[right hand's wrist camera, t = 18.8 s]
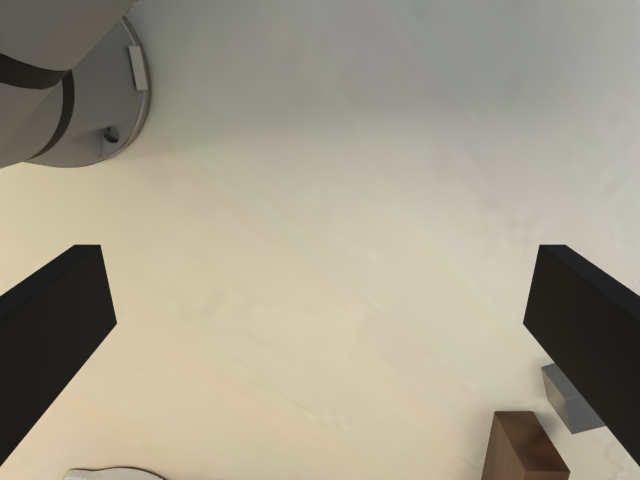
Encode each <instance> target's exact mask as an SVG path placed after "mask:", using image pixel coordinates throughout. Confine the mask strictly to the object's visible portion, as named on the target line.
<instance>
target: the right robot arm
mask: <svg viewBox="0 0 640 480" xmlns="http://www.w3.org/2000/svg"><path fill="white" fill-rule="evenodd" d="M137 1H138V0H0V168H3V167H7V166H10V165H13V164H16V163H20V162H26V163H32V164H38V165H44V166H50V167H59V168H73V167H83V166H88V165H92V164H95V163H98V162H101V161H103V160H106V159H108V158H110V157H112V156H114V155H116V154H118V153H119V152H121V151H122V150H123V149H125V148H126V147H127V146H128V145H129V144H130V143H131V142H132V141H133V140H134V138H135V137H136V136H137V134H138V133H139V131H140V129H141V128H142V126H143V124H144V121H145V119H146V116H147V112H148V108H149V103H150V94H151V83H150V73H149V68H148V63H147V60H146V56H145V53H144V51H143V48H142V45H141V43H140V41H139V39H138V37H137V35H136V33H135V31H134V30H133V28H132V26H131V25H130V23H129V22H128V20H127V19H126V17H125V16H124V15H125V13H126V12H127V11H128V10H129V9H130V8H131V7H132V6H133V5H134V4H135V3H136V2H137ZM116 324H117V321H116V316H115V311H114V307H113V302H112V297H111V293H110V288H109V283H108V278H107V274H106V269H105V264H104V259H103V255H102V250H101V245H74V246H72V247H71V248H69V249H68V250H66V251H65V252H63V253H62V254H61V255H59V256H58V257H56V258H55V259H53V260H52V261H50V262H49V263H48V264H46V265H45V266H43V267H42V268H40V269H39V270H38V271H36V272H35V273H33V274H32V275H30V276H29V277H27V278H26V279H25V280H23V281H22V282H20V283H19V284H17V285H16V286H14V287H13V288H12V289H10V290H9V291H7V292H6V293H4V294H3V295H1V296H0V466H1V465H2V464H3V463H4V462H5V460H6V459H7V458H8V457H9V455H10V454H11V453H12V452H13V451H14V449H15V448H16V447H17V446H18V444H19V443H20V442H21V441H22V439H23V438H24V437H25V436H26V435H27V433H28V432H29V431H30V430H31V428H32V427H33V426H34V425H35V424H36V422H37V421H38V420H39V419H40V417H41V416H42V415H43V414H44V413H45V411H46V410H47V409H48V408H49V406H50V405H51V404H52V403H53V401H54V400H55V399H56V398H57V397H58V395H59V394H60V393H61V392H62V390H63V389H64V388H65V387H66V386H67V384H68V383H69V382H70V381H71V379H72V378H73V377H74V376H75V374H76V373H77V372H78V371H79V370H80V368H81V367H82V366H83V365H84V363H85V362H86V361H87V360H88V359H89V357H90V356H91V355H92V354H93V352H94V351H95V350H96V349H97V348H98V346H99V345H100V344H101V343H102V341H103V340H104V339H105V338H106V336H107V335H108V334H109V333H110V332H111V330H112V329H113V328H114V327H115V325H116ZM523 324H524V325H525V327H526V328H527V329H528V330H529V332H530V333H531V334H532V335H533V336H534V338H535V339H536V340H537V341H538V343H539V344H540V345H541V346H542V348H543V349H544V350H545V351H546V352H547V354H548V355H549V356H550V357H551V359H552V360H553V361H554V362H555V363H556V365H557V366H558V367H559V368H560V370H561V371H562V372H563V373H564V374H565V376H566V377H567V378H568V379H569V381H570V382H571V383H572V384H573V386H574V387H575V388H576V389H577V390H578V392H579V393H580V394H581V395H582V397H583V398H584V399H585V400H586V401H587V403H588V404H589V405H590V406H591V408H592V409H593V410H594V411H595V413H596V414H597V415H598V416H599V417H600V419H601V420H602V421H603V422H604V424H605V425H606V426H607V427H608V428H609V430H610V431H611V432H612V433H613V435H614V436H615V437H616V438H617V439H618V441H619V442H620V443H621V444H622V446H623V447H624V448H625V449H626V451H627V452H628V453H629V454H630V455H631V457H632V458H633V459H634V460H635V462H636V463H637V464H638V465H639V466H640V296H639V295H637V294H636V293H634V292H633V291H631V290H630V289H628V288H627V287H626V286H624V285H623V284H621V283H620V282H618V281H617V280H615V279H614V278H613V277H611V276H610V275H608V274H607V273H605V272H604V271H602V270H601V269H600V268H598V267H597V266H595V265H594V264H592V263H591V262H590V261H588V260H587V259H585V258H584V257H582V256H581V255H579V254H578V253H577V252H575V251H574V250H572V249H571V248H569V247H568V246H566V245H539V250H538V255H537V259H536V264H535V269H534V274H533V278H532V283H531V288H530V293H529V297H528V302H527V307H526V311H525V316H524V321H523Z"/></svg>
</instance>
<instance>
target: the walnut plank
mask: <svg viewBox="0 0 640 480" xmlns="http://www.w3.org/2000/svg"><path fill="white" fill-rule="evenodd" d="M569 475H570V470H569V469H568V467H567V466H566V464H565V462H564V461H563V459H562V458H561V456H560V454H559V453H558V451H557V450H556V448H555V447H554V445H553V443H552V442H551V440H550V439H549V437H548V435H547V434H546V432H545V431H544V429H543V427H542V426H541V424H540V423H539V421H538V420H537V418H536V416H535V415H534V413H533V412H495V413H494V418H493V423H492V428H491V433H490V438H489V443H488V449H487V454H486V459H485V464H484V469H483V474H482V479H481V480H568V478H569Z"/></svg>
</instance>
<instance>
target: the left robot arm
mask: <svg viewBox="0 0 640 480" xmlns="http://www.w3.org/2000/svg"><path fill="white" fill-rule="evenodd" d="M63 480H163V479H161V478H159V477H157V476H155V475H153V474H150V473H148V472H144V471H141V470H136V469H129V468H112V469H106V470H100V471H86V470H70V471H68V472H67V473H66V475H65V477H64V479H63Z"/></svg>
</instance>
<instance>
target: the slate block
mask: <svg viewBox="0 0 640 480" xmlns="http://www.w3.org/2000/svg"><path fill="white" fill-rule="evenodd" d="M542 373H543V378H544V383H545V388H546V393H547V398H548V401H549V402H550V404H551V405H552V407H553V408H554V409H555V411H556V412H557V414H558V415H559V416H560V418H561V419H562V421H563V422H564V424H565V425H566V426H567V428H568V429H569V431H570V432H571V434H575V433H579V432H583V431H587V430H591V429H595V428H599V427H603V426H606V425H605V424H604V422H603V421H602V420H601V419H600V417H599V416H598V415H597V414H596V413H595V411H594V410H593V409H592V408H591V406H590V405H589V404H588V403H587V401H586V400H585V399H584V398H583V397H582V395H581V394H580V393H579V392H578V390H577V389H576V388H575V387H574V386H573V384H572V383H571V382H570V381H569V379H568V378H567V377H566V376H565V374H564V373H563V372H562V371H561V370H560V368H559V367H558V366H557V365H556V364H552V365H548V366H545V367H542Z"/></svg>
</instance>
